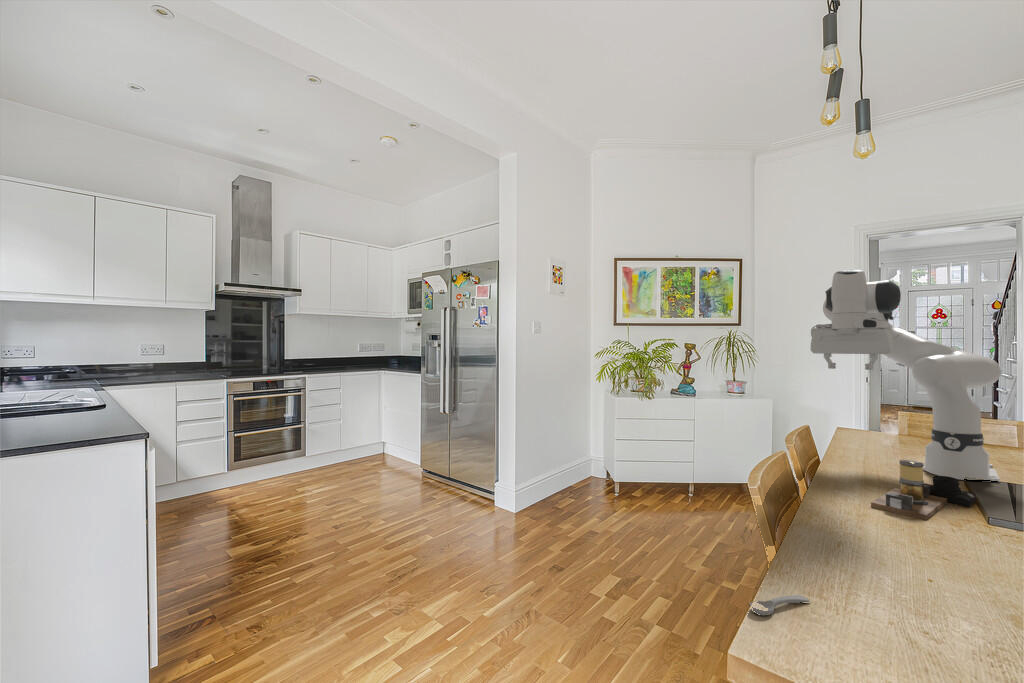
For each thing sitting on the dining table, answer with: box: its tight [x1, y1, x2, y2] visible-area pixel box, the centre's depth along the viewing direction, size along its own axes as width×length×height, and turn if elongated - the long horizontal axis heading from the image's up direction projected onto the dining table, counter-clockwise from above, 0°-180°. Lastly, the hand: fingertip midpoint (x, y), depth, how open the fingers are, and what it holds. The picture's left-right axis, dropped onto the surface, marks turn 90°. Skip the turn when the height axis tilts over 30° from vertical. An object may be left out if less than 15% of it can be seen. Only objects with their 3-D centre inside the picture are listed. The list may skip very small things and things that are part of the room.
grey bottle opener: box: [749, 594, 811, 616], centre depth 74 cm, size 3×12×2 cm, turn 110°
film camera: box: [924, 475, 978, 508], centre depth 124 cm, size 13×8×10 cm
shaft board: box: [870, 483, 948, 521], centre depth 120 cm, size 20×11×4 cm, turn 126°
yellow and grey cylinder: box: [898, 459, 925, 503], centre depth 119 cm, size 5×5×10 cm
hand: (850, 369), depth 136 cm, fingers open, 8 cm apart
